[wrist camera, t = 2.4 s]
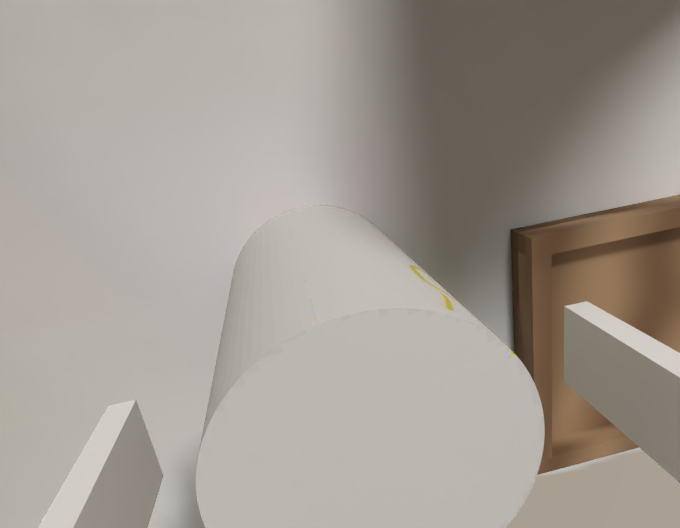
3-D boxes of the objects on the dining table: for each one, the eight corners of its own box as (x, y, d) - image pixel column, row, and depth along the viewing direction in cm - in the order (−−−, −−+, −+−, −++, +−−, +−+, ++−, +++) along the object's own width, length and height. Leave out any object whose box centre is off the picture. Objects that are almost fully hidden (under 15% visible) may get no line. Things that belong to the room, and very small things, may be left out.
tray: (518, 452, 27) (535, 475, 25) (510, 229, 22) (531, 238, 20) (723, 398, 28) (752, 416, 26) (755, 179, 24) (793, 183, 22)
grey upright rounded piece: (398, 354, 23) (527, 571, 12) (240, 372, 22) (218, 632, 11) (400, 199, 21) (564, 290, 10) (222, 211, 20) (168, 329, 8)
